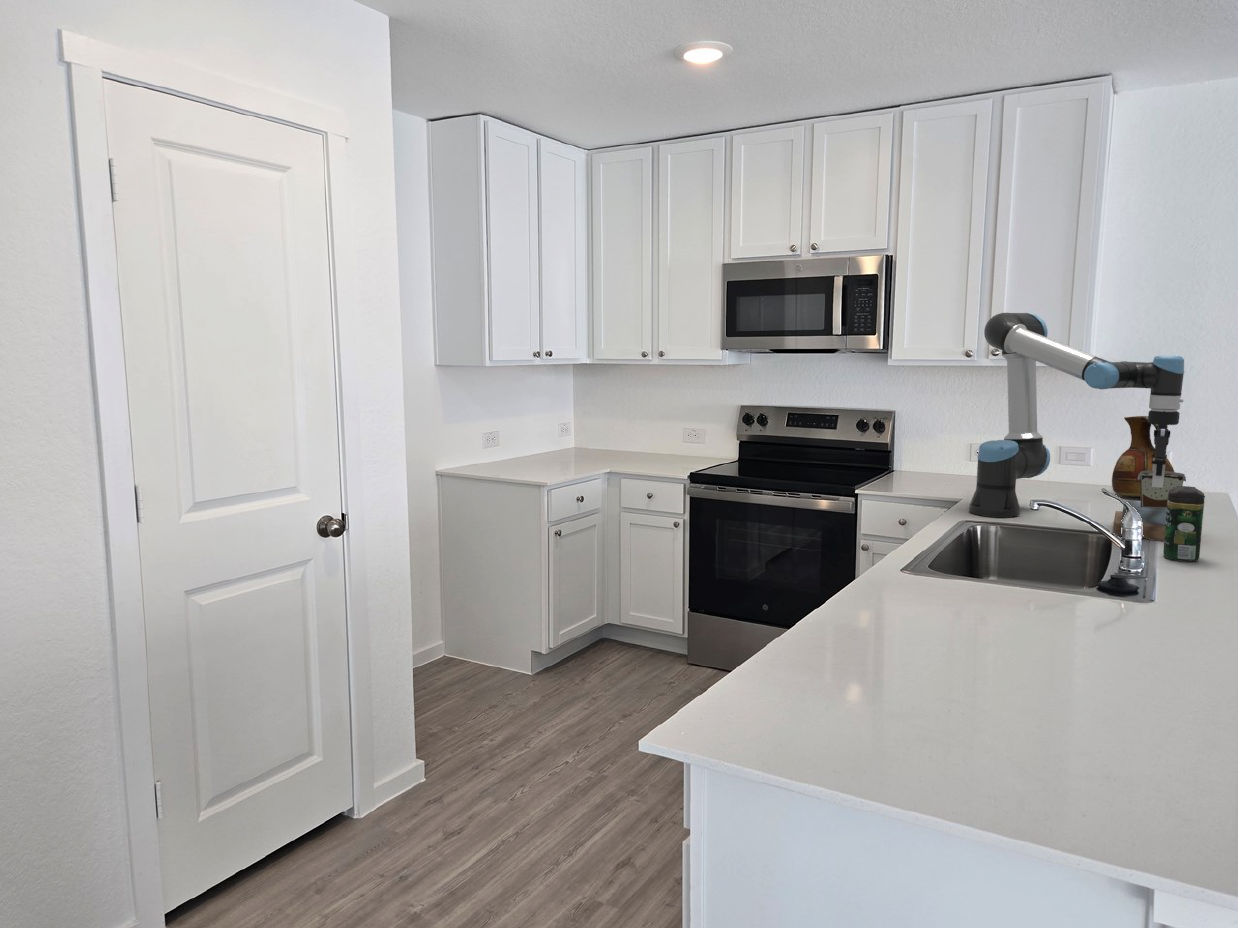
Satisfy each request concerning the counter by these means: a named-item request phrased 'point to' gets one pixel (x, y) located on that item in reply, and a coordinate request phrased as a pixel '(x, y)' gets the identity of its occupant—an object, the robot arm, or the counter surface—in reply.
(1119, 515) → the pedestal
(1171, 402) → the robot arm
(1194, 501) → the coffee jar
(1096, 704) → the counter surface
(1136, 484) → the ceramic pitcher
